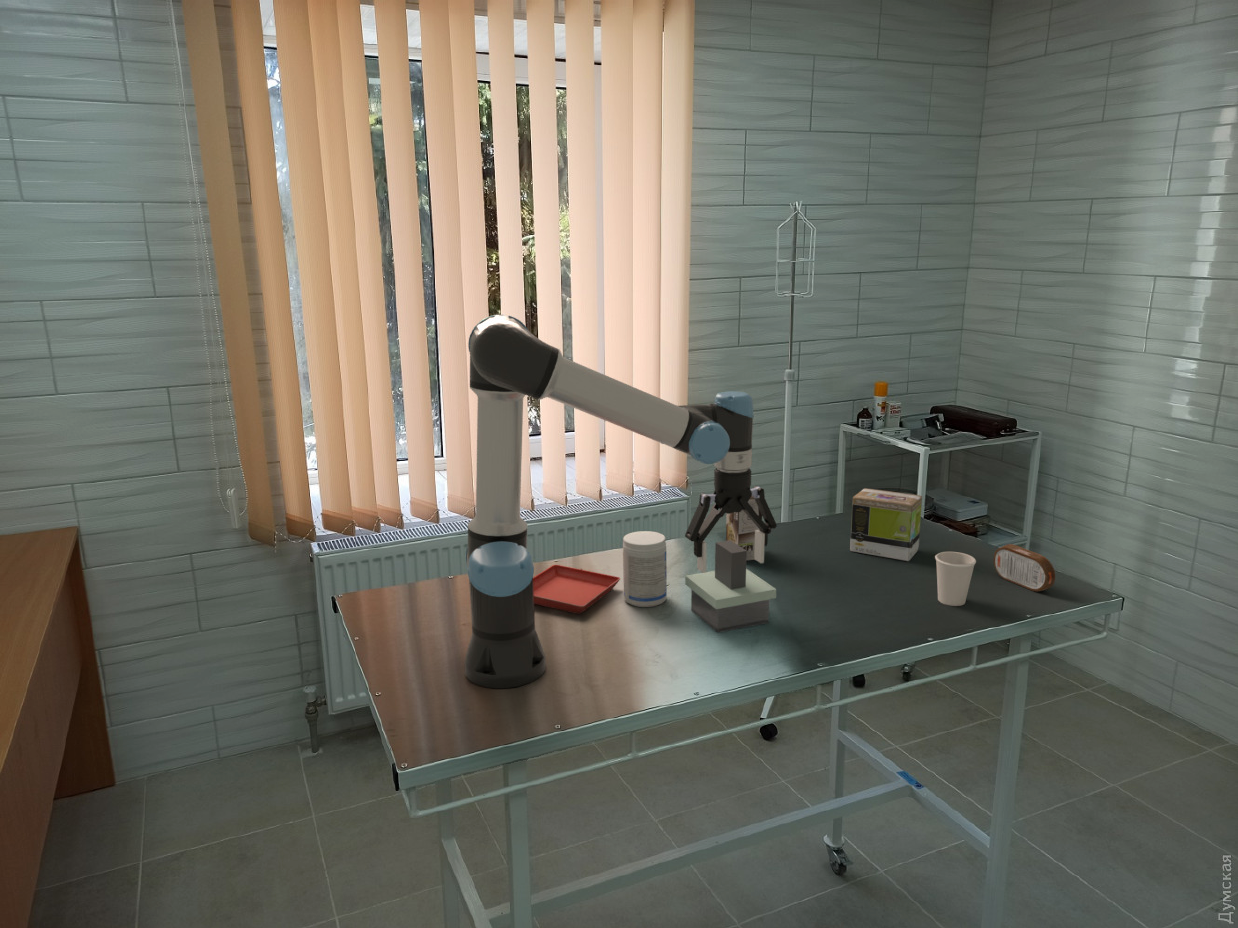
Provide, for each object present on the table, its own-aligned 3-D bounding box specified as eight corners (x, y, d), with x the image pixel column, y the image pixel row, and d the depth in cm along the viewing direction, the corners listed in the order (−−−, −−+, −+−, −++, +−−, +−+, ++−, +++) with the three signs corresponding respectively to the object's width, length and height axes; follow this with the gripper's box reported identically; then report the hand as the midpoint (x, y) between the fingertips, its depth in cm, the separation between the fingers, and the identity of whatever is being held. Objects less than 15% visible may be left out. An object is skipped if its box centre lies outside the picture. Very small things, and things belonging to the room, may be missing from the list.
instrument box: (717, 632, 182) (718, 601, 180) (691, 610, 193) (691, 579, 191) (768, 622, 187) (769, 591, 185) (739, 601, 197) (740, 571, 195)
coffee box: (761, 559, 222) (763, 497, 217) (737, 561, 220) (739, 499, 216) (748, 547, 230) (750, 487, 226) (724, 549, 229) (726, 489, 224)
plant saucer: (621, 589, 205) (621, 576, 204) (583, 620, 190) (582, 605, 189) (554, 576, 213) (554, 563, 212) (512, 604, 198) (511, 590, 197)
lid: (715, 609, 179) (717, 562, 177) (685, 584, 192) (685, 540, 189) (776, 598, 185) (777, 552, 182) (742, 574, 197) (743, 531, 194)
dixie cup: (928, 604, 195) (932, 561, 192) (934, 590, 202) (938, 549, 200) (969, 611, 191) (973, 567, 189) (974, 597, 198) (978, 554, 196)
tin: (1054, 594, 199) (1058, 559, 197) (1044, 597, 198) (1048, 562, 196) (998, 572, 212) (1002, 539, 210) (989, 574, 211) (992, 541, 209)
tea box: (919, 550, 227) (923, 494, 223) (908, 562, 219) (913, 505, 215) (860, 540, 235) (864, 486, 231) (848, 551, 226) (851, 496, 222)
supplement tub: (675, 602, 197) (675, 539, 193) (639, 612, 192) (639, 548, 188) (649, 587, 205) (649, 527, 201) (615, 597, 200) (614, 535, 196)
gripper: (685, 479, 173) (685, 581, 179) (795, 465, 182) (791, 562, 188) (669, 470, 180) (669, 568, 186) (776, 457, 189) (772, 551, 195)
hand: (730, 565), depth 187 cm, fingers open, 13 cm apart
